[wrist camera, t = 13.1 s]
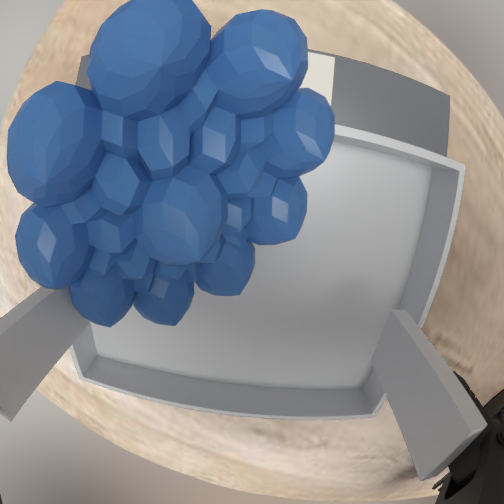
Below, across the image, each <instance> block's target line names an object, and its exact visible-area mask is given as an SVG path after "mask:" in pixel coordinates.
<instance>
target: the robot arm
mask: <svg viewBox="0 0 504 504" xmlns="http://www.w3.org/2000/svg"><path fill="white" fill-rule="evenodd" d="M69 286H70V285H69ZM69 286H67V287H65V288H64V289H58V290H53V289H48V288H44V287H41V288H39V289H38V290H37V291H35V292H34V293H33V294H31V295H30V296H29V297H27V298H26V299H25V300H23V301H22V302H21V303H19V304H18V305H17V306H16V307H14V308H13V309H12V310H10V311H9V312H8V313H7V314H5V315H4V316H3V317H1V318H0V414H1V415H2V416H4V417H5V418H6V419H8V420H9V421H12V420H13V418H14V417H15V415H16V414H17V413H18V411H19V410H20V409H21V407H22V406H23V404H24V403H25V402H26V401H27V399H28V398H29V397H30V395H31V394H32V393H33V391H34V390H35V389H36V387H37V386H38V385H39V384H40V382H41V381H42V380H43V379H44V377H45V376H46V375H47V374H48V372H49V371H50V370H51V369H52V367H53V366H54V365H55V364H56V363H57V361H58V360H59V359H60V358H61V357H62V355H63V354H64V353H65V352H66V351H67V350H68V348H69V347H70V346H71V345H72V344H73V343H74V341H75V340H76V339H77V338H78V337H79V336H80V335H81V333H82V332H83V331H84V330H85V329H86V328H87V327H88V326H89V320H87V319H85V318H84V317H82V315H81V314H80V313H79V312H78V311H77V309H76V308H75V307H74V306H73V304H72V300H71V295H70V291H69ZM371 363H372V365H373V367H374V369H375V371H376V374H377V376H378V378H379V380H380V382H381V385H382V387H383V389H384V391H385V394H386V396H387V398H388V401H389V403H390V405H391V408H392V410H393V412H394V415H395V417H396V420H397V422H398V424H399V427H400V429H401V432H402V434H403V437H404V439H405V442H406V445H407V447H408V450H409V452H410V455H411V458H412V460H413V463H414V466H415V469H416V471H417V474H418V477H419V480H420V481H423V480H426V479H429V478H432V477H435V476H437V475H439V474H440V473H441V472H442V471H443V470H444V469H445V468H446V467H449V470H450V472H449V473H448V474H447V475H445V476H444V477H443V478H442V479H441V480H439V481H438V482H437V483H436V484H435V485H434V486H433V488H432V489H436V488H437V487H438V486H439V485H441V484H442V483H443V485H442V487H441V488H439V489H438V491H440V493H439V496H438V498H437V501H436V503H435V504H504V390H503V391H502V392H501V393H500V394H498V395H497V396H496V397H495V398H494V399H493V400H492V401H491V402H489V403H488V404H487V405H486V406H485V407H484V408H483V407H482V405H481V404H480V402H479V401H478V399H477V398H475V395H474V393H473V392H472V390H470V387H469V386H468V384H467V383H466V382H465V380H464V379H463V378H462V377H461V376H459V375H458V374H457V373H456V372H455V371H452V370H451V368H450V367H449V366H448V364H447V363H446V362H445V360H444V359H443V357H442V356H441V355H440V353H439V352H438V351H437V349H436V348H435V347H434V345H433V344H432V343H431V342H430V340H429V339H428V338H427V336H426V335H425V334H424V333H423V331H422V330H421V329H420V328H419V326H418V325H417V324H416V323H415V321H414V320H413V319H412V318H411V316H410V315H409V314H408V313H407V311H406V310H393V309H391V310H390V313H389V316H388V319H387V321H386V324H385V327H384V329H383V332H382V334H381V337H380V339H379V342H378V344H377V347H376V349H375V351H374V354H373V356H372V358H371ZM0 504H2V500H1V496H0Z"/></svg>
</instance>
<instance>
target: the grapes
mask: <svg viewBox="0 0 504 504" xmlns="http://www.w3.org/2000/svg"><path fill="white" fill-rule="evenodd" d="M210 37H211V26H210V24H209V23H208V21H207V20H206V19H205V17H204V16H203V14H202V13H201V12H200V10H199V9H198V8H197V6H196V5H195V4H194V2H193V1H192V0H131V1H129V2H127V3H125V4H123V5H122V6H120V7H119V8H118V9H117V10H116V11H115V12H114V13H113V14H112V15H111V16H110V17H109V18H108V19H107V20H106V21H105V22H104V23H103V24H102V25H101V27H100V29H99V31H98V33H97V35H96V37H95V39H94V41H93V43H92V45H91V48H90V54H89V59H88V65H87V71H86V73H87V77H88V80H89V83H90V86H91V90H89V89H86V88H83V87H79V86H76V85H72V84H68V83H64V82H59V81H56V82H54V83H52V84H50V85H48V86H46V87H44V88H43V89H41V90H39V91H37V92H35V93H34V94H33V95H32V96H31V97H30V98H29V99H28V100H26V101H25V102H24V103H23V104H22V106H21V108H20V109H19V111H18V113H17V115H16V116H15V118H14V120H13V122H12V124H11V126H10V128H9V129H8V143H7V165H8V173H9V175H10V177H11V179H12V181H13V183H14V185H15V187H16V189H17V191H18V193H20V194H21V195H23V196H24V197H26V198H27V199H29V200H30V201H32V202H34V203H33V204H32V205H31V206H30V207H29V208H28V209H27V210H26V211H25V212H24V213H23V214H22V216H21V219H20V222H19V225H18V228H17V232H16V235H15V239H16V246H17V252H18V257H19V261H20V263H21V265H22V266H23V268H24V269H25V271H26V272H27V274H28V275H29V277H30V278H31V279H32V280H33V281H35V282H36V283H38V284H39V285H41V286H42V287H44V288H48V289H53V290H58V289H64V288H65V287H67V286H69V285H70V286H69V291H70V295H71V300H72V304H73V306H74V307H75V308H76V309H77V311H78V312H79V313H80V314H81V315H82V317H84V318H85V319H87V320H89V321H91V322H93V323H94V324H97V325H101V326H105V327H109V328H111V327H112V326H113V325H115V324H116V323H117V322H119V321H120V320H121V319H122V318H123V317H124V316H125V315H126V314H127V312H128V311H129V310H130V308H131V307H132V305H133V304H134V307H135V309H136V310H137V311H138V312H139V313H140V315H141V316H142V317H143V318H145V319H147V320H149V321H151V322H153V323H156V324H161V325H168V326H176V325H177V324H178V323H179V321H180V320H181V319H182V318H183V316H184V315H185V313H186V312H187V311H188V309H189V308H190V305H191V302H192V299H193V296H194V294H195V292H194V282H195V283H196V284H197V285H198V287H199V288H200V290H203V291H205V292H207V293H210V294H212V295H215V296H236V295H240V294H241V292H242V291H243V289H244V288H245V286H246V284H247V283H248V281H249V279H250V277H251V274H252V272H253V269H254V266H255V247H254V245H253V244H252V242H253V243H255V244H257V245H277V244H280V243H284V242H287V241H290V240H293V239H296V237H297V235H298V233H299V231H300V229H301V227H302V224H303V222H304V219H305V216H306V213H307V195H308V193H307V191H306V189H305V187H304V185H303V183H302V181H301V179H300V177H299V176H301V175H304V174H306V173H308V172H311V171H313V170H314V169H316V168H317V167H318V166H320V165H321V164H322V163H323V162H324V161H325V160H326V158H327V156H328V154H329V153H330V150H331V147H332V143H333V140H334V136H335V116H334V113H333V111H332V109H331V107H330V105H329V103H328V101H327V99H326V97H325V96H323V95H321V94H319V93H317V92H316V91H314V90H312V89H310V88H299V87H300V86H301V85H302V82H303V80H304V77H305V75H306V73H307V70H308V49H307V38H306V36H305V35H304V33H303V32H302V30H301V29H300V27H299V26H298V24H297V23H296V21H295V20H294V19H292V18H290V17H288V16H285V15H283V14H280V13H278V12H275V11H273V10H256V11H251V12H247V13H242V14H238V15H235V16H234V17H233V18H232V19H231V20H230V21H228V22H227V23H226V24H225V25H224V26H223V27H222V28H221V29H220V30H219V31H218V32H217V33H216V34H215V36H214V37H213V38H212V39H211V41H210Z"/></svg>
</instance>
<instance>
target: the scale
mask: <svg viewBox="0 0 504 504" xmlns="http://www.w3.org/2000/svg"><path fill="white" fill-rule="evenodd" d="M210 41H211V40H210ZM88 59H89V55H85V56H82V58H81V62H80V67H79V71H78V76H77V81H76V86H79V87H83V88H86V89H89V90H91V86H90V83H89V80H88V77H87V73H86V71H87V65H88ZM299 88H310V89H312V90H314V91H316V92H317V93H319V94H321V95H323V96H325V97H326V99H327V101H328V103H329V105H330V107H331V109H332V111H333V113H334V116H335V136H334V140H333V143H332V147H331V150H330V153H329V154H328V156H327V158H326V160H325V161H324V162H323V163H322V164H321V165H320V166H318V167H317V168H316V169H314V170H313V171H311V172H308V173H306V174H304V175H301V176H299V177H300V179H301V181H302V183H303V185H304V187H305V189H306V191H307V193H308V195H307V213H306V216H305V219H304V222H303V224H302V227H301V229H300V231H299V233H298V235H297V237H296V239H293V240H290V241H287V242H284V243H280V244H277V245H257V244H255V243H253V242H252V244H253V245H254V247H255V266H254V269H253V272H252V274H251V277H250V279H249V281H248V283H247V284H246V286H245V288H244V289H243V291H242V292H241V294H240V295H236V296H215V295H212V294H210V293H207V292H205V291H203V290H200V288H199V287H198V285H197V284H196V283H195V282H194V292H195V294H194V296H193V299H192V302H191V305H190V308H189V309H188V311H187V312H186V313H185V315H184V316H183V318H182V319H181V320H180V321H179V323H178V324H177V325H176V326H168V325H161V324H156V323H153V322H151V321H149V320H147V319H145V318H143V317H142V316H141V315H140V313H139V312H138V311H137V310H136V309H135V307H134V304H133V305H132V307H131V308H130V310H129V311H128V312H127V314H126V315H125V316H124V317H123V318H122V319H121V320H120V321H119V322H117V323H116V324H115V325H113V326H112V327H111V328H109V327H105V326H101V325H97V324H94V323H93V322H91V321H89V326H88V327H87V328H86V329H85V330H84V331H83V332H82V333H81V335H80V336H79V337H78V338H77V339H76V340H75V341H74V343H73V344H72V345H71V346H70V347H69V348H70V352H71V355H72V358H73V361H74V364H75V367H76V370H77V373H78V375H79V378H80V379H81V380H84V381H87V382H90V383H92V384H95V385H98V386H101V387H104V388H107V389H110V390H114V391H117V392H120V393H124V394H127V395H131V396H134V397H138V398H142V399H145V400H149V401H153V402H158V403H162V404H166V405H171V406H176V407H181V408H186V409H191V410H197V411H203V412H209V413H216V414H224V415H232V416H241V417H251V418H263V419H281V420H340V419H357V418H369V417H375V416H376V414H377V413H378V411H379V410H380V408H381V406H382V405H383V403H384V401H385V400H386V398H387V396H386V394H385V391H384V389H383V387H382V385H381V382H380V380H379V378H378V376H377V374H376V371H375V369H374V367H373V365H372V363H371V358H372V356H373V354H374V351H375V349H376V347H377V344H378V342H379V339H380V337H381V334H382V332H383V329H384V327H385V324H386V321H387V319H388V316H389V313H390V310H391V309H393V310H406V311H407V313H408V314H409V315H410V316H411V318H412V319H413V320H414V321H415V323H416V324H417V325H418V326H419V328H420V329H421V330H422V327H423V325H424V323H425V320H426V318H427V315H428V313H429V310H430V308H431V305H432V302H433V300H434V297H435V294H436V291H437V289H438V286H439V283H440V280H441V277H442V274H443V270H444V267H445V264H446V261H447V257H448V254H449V250H450V246H451V243H452V239H453V235H454V230H455V226H456V222H457V217H458V212H459V207H460V202H461V196H462V191H463V184H464V177H465V170H466V165H464V164H462V163H460V162H457V161H455V160H452V159H450V158H447V157H446V156H447V146H448V133H449V113H450V96H449V95H447V94H445V93H443V92H440V91H438V90H436V89H434V88H432V87H430V86H427V85H425V84H423V83H420V82H418V81H416V80H413V79H411V78H408V77H405V76H403V75H400V74H398V73H395V72H392V71H389V70H386V69H383V68H380V67H377V66H374V65H371V64H367V63H364V62H361V61H357V60H353V59H350V58H346V57H342V56H338V55H333V54H329V53H324V52H320V51H315V50H309V49H308V70H307V73H306V75H305V77H304V80H303V82H302V85H301V86H300V87H299Z"/></svg>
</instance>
